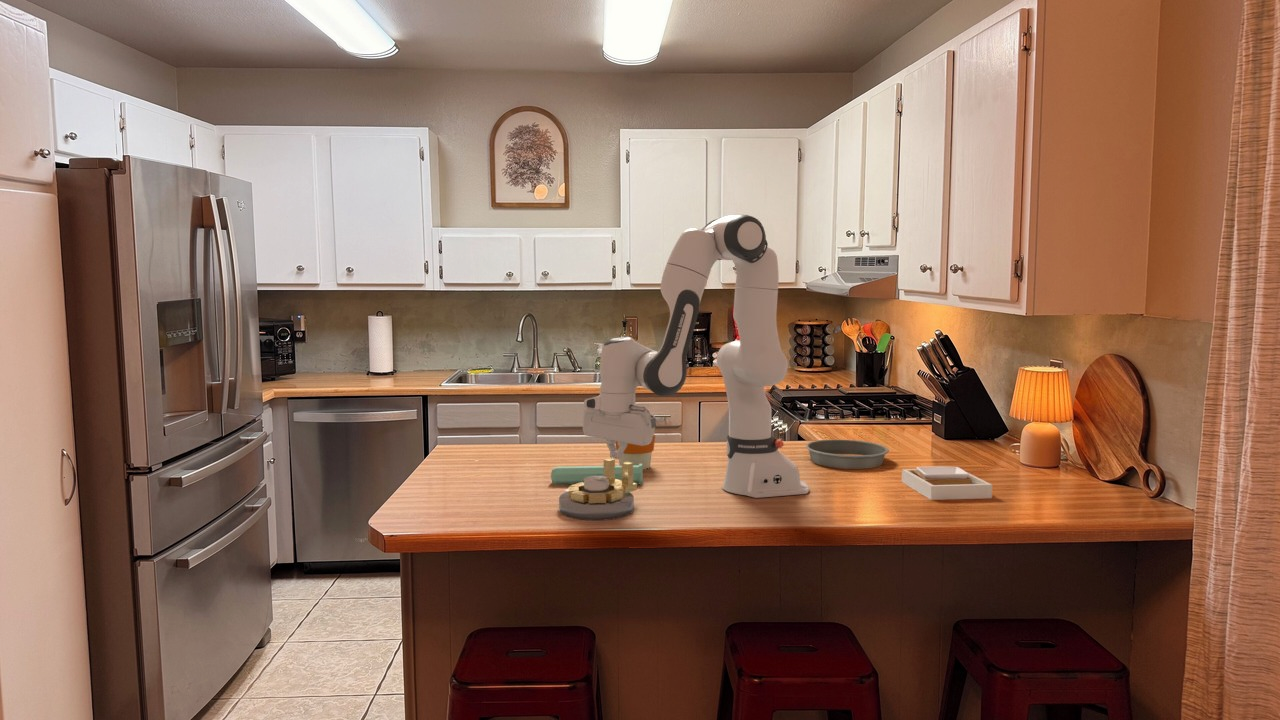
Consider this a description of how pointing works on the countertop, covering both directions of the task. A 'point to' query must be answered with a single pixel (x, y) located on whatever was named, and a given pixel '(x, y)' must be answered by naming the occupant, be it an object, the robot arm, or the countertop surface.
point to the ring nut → (615, 486)
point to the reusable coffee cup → (639, 450)
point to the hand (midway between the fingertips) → (616, 458)
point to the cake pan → (866, 451)
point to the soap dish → (943, 475)
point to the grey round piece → (595, 509)
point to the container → (590, 474)
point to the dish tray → (947, 488)
